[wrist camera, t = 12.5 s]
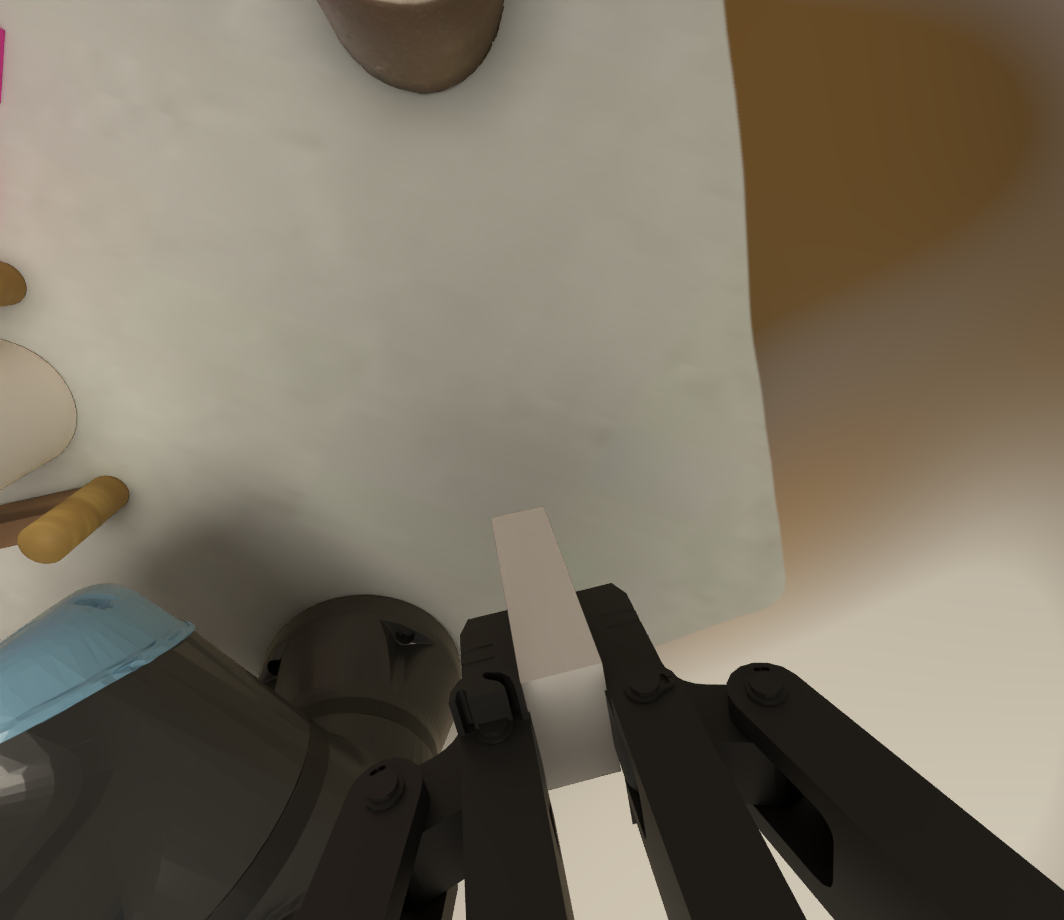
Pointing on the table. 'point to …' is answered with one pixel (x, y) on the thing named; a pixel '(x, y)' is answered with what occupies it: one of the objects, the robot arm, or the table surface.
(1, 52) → the bracket
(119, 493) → the bay
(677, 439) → the table surface
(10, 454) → the cup
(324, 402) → the table surface
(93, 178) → the table surface
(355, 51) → the pillar candle
